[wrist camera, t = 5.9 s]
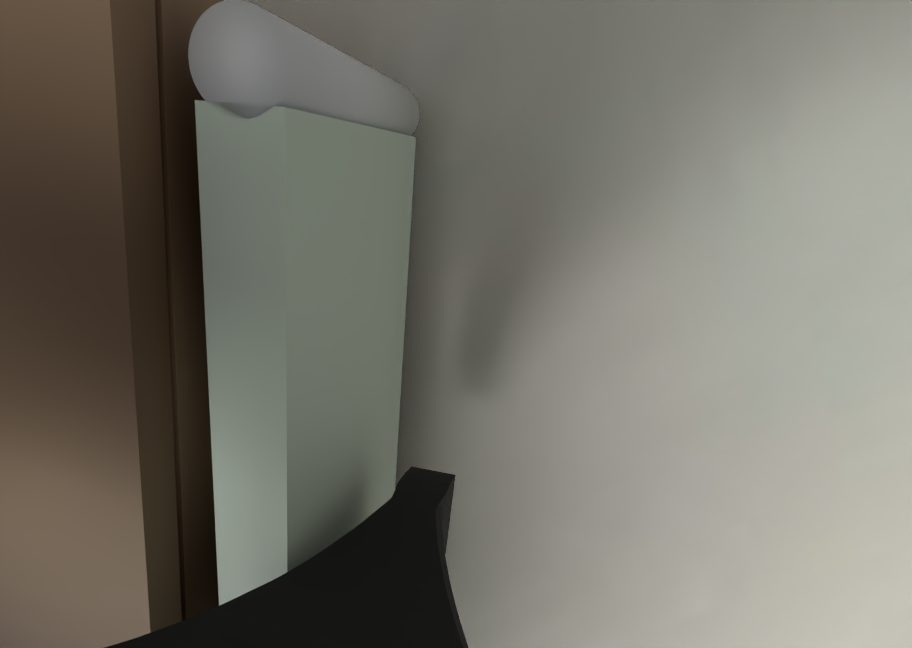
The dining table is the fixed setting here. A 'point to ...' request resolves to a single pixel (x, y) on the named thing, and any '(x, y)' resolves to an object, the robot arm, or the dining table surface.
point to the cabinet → (101, 325)
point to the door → (298, 285)
